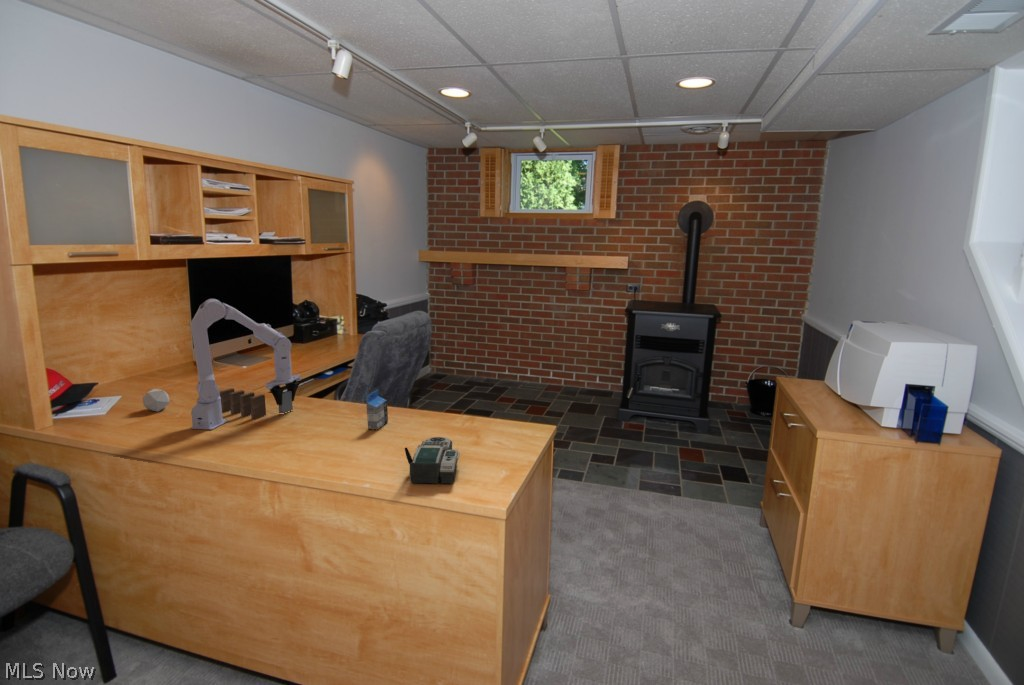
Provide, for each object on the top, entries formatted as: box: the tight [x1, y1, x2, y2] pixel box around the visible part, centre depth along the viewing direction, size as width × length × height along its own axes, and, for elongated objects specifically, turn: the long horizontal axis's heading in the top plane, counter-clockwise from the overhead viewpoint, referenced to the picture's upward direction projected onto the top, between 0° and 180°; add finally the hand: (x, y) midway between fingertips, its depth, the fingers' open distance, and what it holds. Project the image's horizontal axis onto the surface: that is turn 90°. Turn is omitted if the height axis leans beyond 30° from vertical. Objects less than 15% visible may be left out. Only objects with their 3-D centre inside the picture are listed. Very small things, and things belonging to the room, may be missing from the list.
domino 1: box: [219, 387, 235, 413], centre depth 201 cm, size 2×5×8 cm, turn 155°
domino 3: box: [240, 391, 256, 418], centre depth 197 cm, size 2×5×8 cm, turn 155°
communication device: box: [404, 436, 461, 484], centre depth 157 cm, size 14×28×10 cm, turn 1°
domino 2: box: [229, 389, 245, 415], centre depth 199 cm, size 2×5×8 cm, turn 155°
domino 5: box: [278, 390, 294, 414], centre depth 200 cm, size 2×5×8 cm, turn 154°
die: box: [142, 388, 171, 412], centre depth 200 cm, size 8×9×10 cm
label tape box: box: [365, 389, 389, 430], centre depth 187 cm, size 9×4×12 cm, turn 168°
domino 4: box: [250, 394, 267, 420], centre depth 195 cm, size 2×5×8 cm, turn 155°
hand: (285, 402), depth 200 cm, fingers closed on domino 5, 5 cm apart
